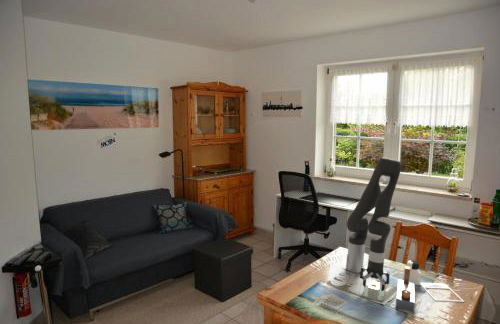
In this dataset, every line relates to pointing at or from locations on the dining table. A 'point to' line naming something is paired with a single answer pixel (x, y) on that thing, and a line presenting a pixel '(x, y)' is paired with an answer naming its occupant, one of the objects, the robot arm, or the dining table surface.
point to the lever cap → (373, 288)
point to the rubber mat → (379, 298)
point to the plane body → (405, 293)
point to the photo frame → (439, 286)
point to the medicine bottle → (414, 272)
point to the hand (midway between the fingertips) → (373, 288)
